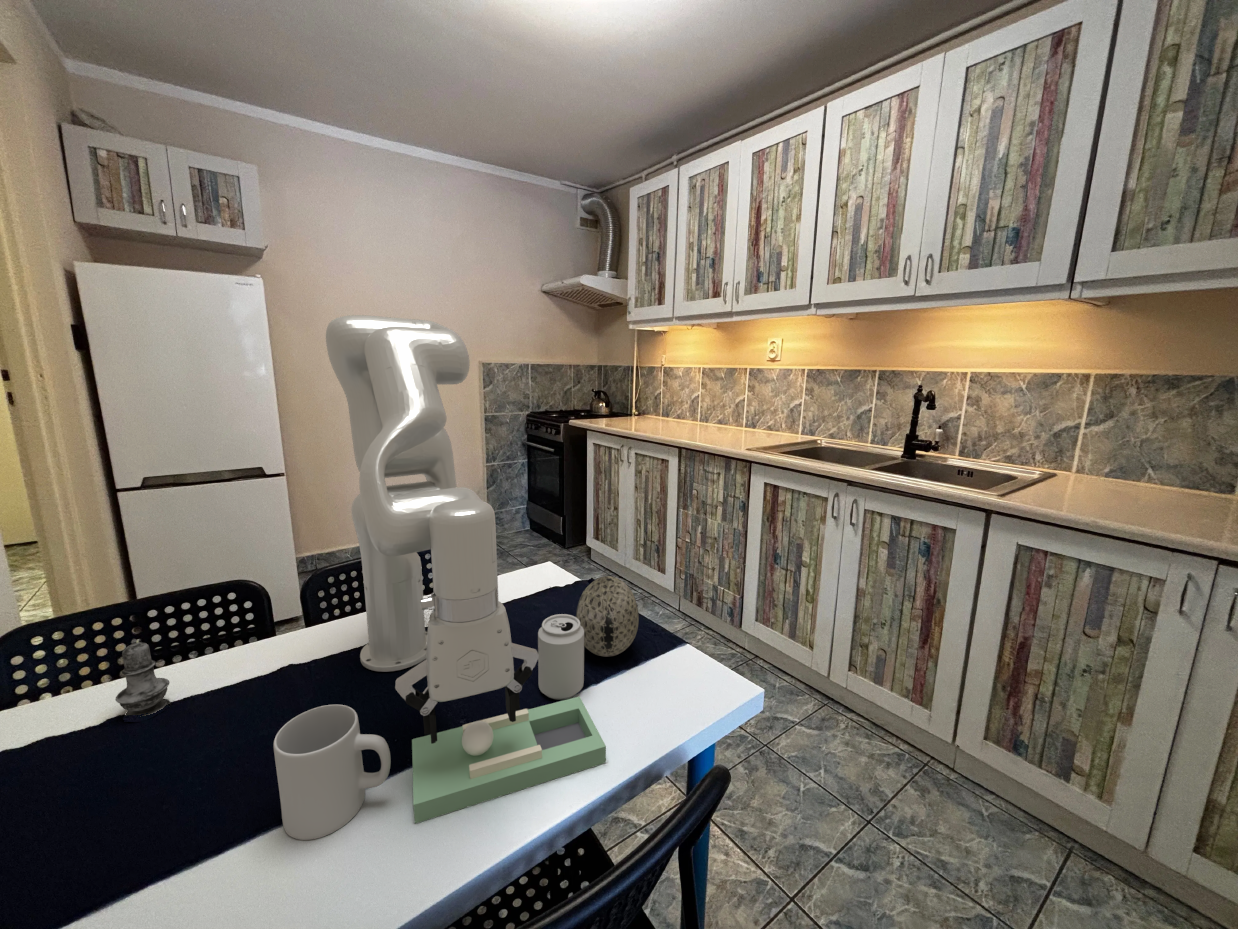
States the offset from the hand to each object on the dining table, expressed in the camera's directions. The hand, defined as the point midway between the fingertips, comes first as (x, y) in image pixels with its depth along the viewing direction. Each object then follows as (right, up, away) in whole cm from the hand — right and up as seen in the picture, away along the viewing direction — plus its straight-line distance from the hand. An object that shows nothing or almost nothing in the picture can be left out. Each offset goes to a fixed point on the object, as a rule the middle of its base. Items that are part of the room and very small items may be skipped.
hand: (473, 725), depth 63 cm
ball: (0, -2, +1) cm, 3 cm away
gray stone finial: (-53, -4, +11) cm, 54 cm away
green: (+4, -7, +4) cm, 8 cm away
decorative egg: (+16, -2, +30) cm, 34 cm away
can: (+9, -4, +19) cm, 21 cm away
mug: (-15, -8, -4) cm, 17 cm away
